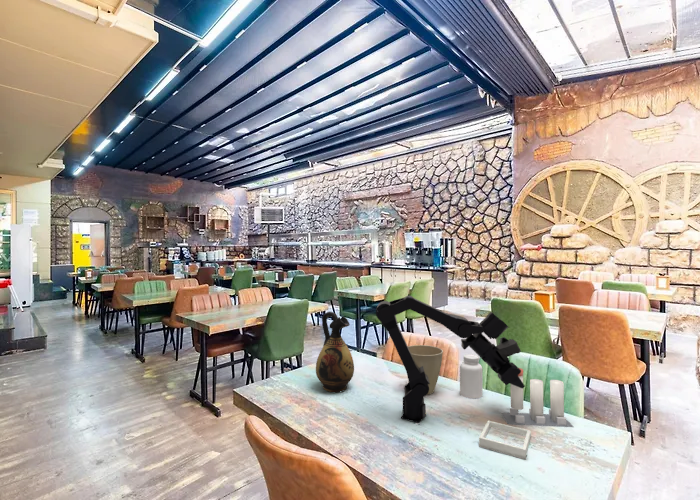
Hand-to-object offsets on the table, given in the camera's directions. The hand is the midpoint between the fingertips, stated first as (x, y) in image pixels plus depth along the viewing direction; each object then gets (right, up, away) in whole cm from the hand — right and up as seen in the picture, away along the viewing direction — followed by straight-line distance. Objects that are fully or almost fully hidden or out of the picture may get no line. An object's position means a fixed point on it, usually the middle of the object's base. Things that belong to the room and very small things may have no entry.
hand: (521, 384), depth 111 cm
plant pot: (-26, -12, +25) cm, 38 cm away
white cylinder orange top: (-1, -7, 0) cm, 7 cm away
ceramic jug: (-61, -13, +30) cm, 69 cm away
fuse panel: (+4, -12, 0) cm, 12 cm away
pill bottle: (-9, -12, +19) cm, 25 cm away
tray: (-10, -12, -12) cm, 20 cm away
